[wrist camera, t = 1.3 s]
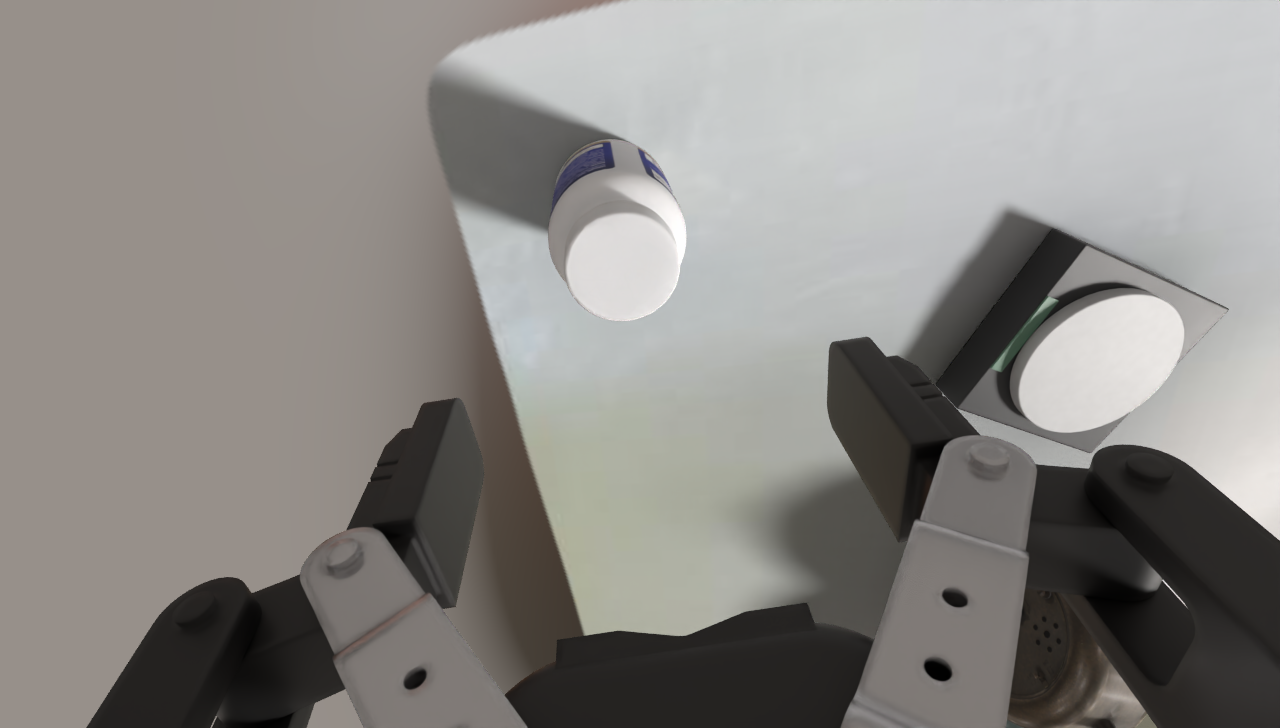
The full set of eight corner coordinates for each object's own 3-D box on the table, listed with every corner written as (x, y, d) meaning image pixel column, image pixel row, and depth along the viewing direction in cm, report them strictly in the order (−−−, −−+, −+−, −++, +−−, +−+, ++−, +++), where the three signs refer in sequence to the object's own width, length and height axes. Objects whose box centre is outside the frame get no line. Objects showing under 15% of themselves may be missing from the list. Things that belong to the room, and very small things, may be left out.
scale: (934, 384, 35) (964, 417, 32) (1052, 227, 30) (1098, 249, 27) (1063, 429, 37) (1101, 463, 35) (1190, 290, 33) (1245, 316, 30)
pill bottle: (549, 244, 29) (535, 329, 21) (559, 129, 26) (548, 180, 18) (658, 257, 29) (682, 345, 22) (678, 147, 27) (714, 203, 19)
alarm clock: (968, 605, 46) (1133, 867, 32) (908, 595, 45) (1052, 862, 31) (1060, 503, 41) (1304, 761, 27) (995, 487, 39) (1216, 750, 26)
